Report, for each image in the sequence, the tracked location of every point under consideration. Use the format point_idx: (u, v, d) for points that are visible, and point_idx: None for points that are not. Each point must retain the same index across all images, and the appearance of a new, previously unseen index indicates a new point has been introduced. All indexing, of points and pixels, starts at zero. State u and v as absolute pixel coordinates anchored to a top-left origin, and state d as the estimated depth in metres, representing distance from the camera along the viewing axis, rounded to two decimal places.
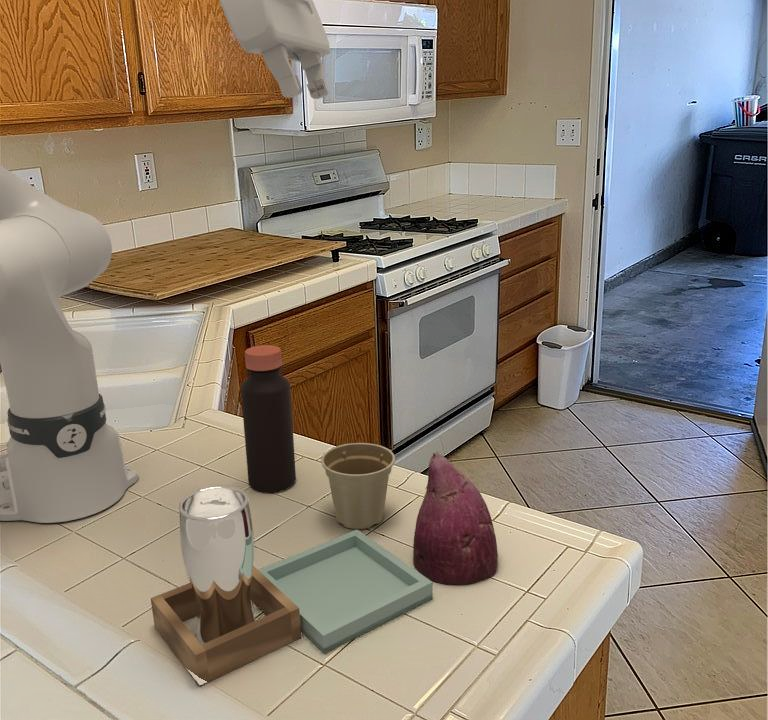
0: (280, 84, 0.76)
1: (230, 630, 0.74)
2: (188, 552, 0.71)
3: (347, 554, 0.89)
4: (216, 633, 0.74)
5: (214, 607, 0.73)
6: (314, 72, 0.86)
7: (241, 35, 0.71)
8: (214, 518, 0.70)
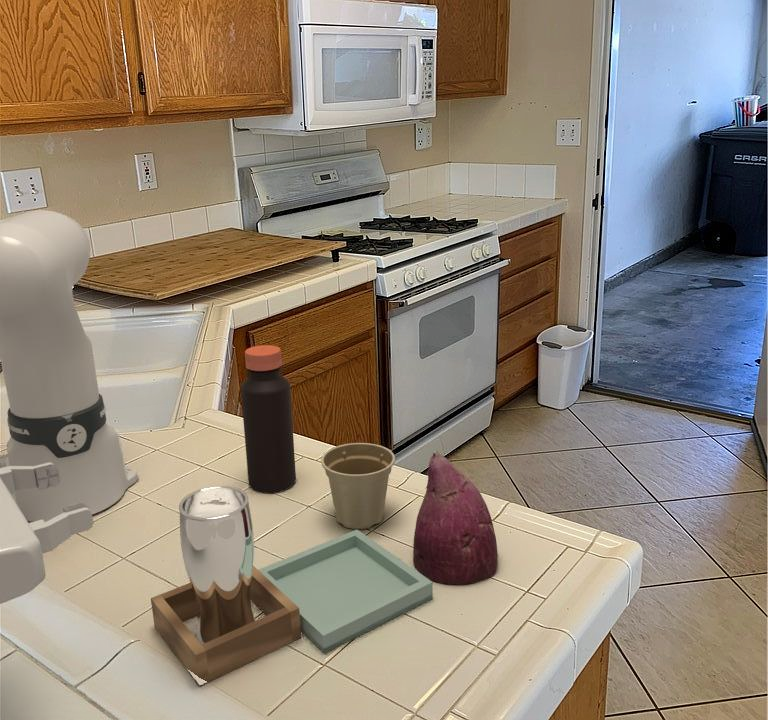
0: (75, 531, 0.59)
1: (230, 630, 0.74)
2: (188, 552, 0.71)
3: (347, 554, 0.89)
4: (216, 633, 0.74)
5: (214, 607, 0.73)
6: (21, 478, 0.66)
7: (27, 585, 0.53)
8: (214, 518, 0.70)
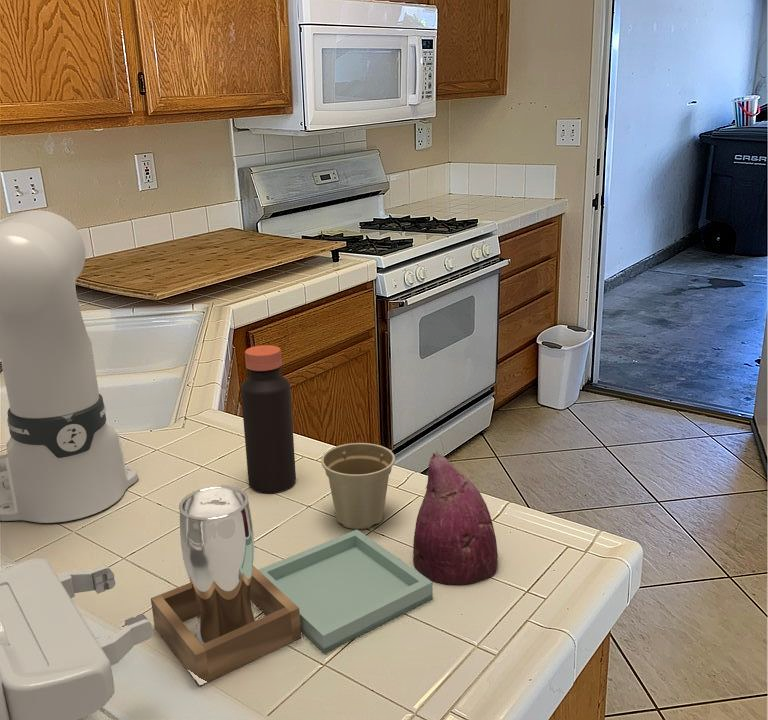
0: (137, 642, 0.65)
1: (230, 630, 0.74)
2: (188, 552, 0.71)
3: (347, 554, 0.89)
4: (216, 633, 0.74)
5: (214, 607, 0.73)
6: (80, 582, 0.72)
7: (100, 702, 0.59)
8: (214, 518, 0.70)
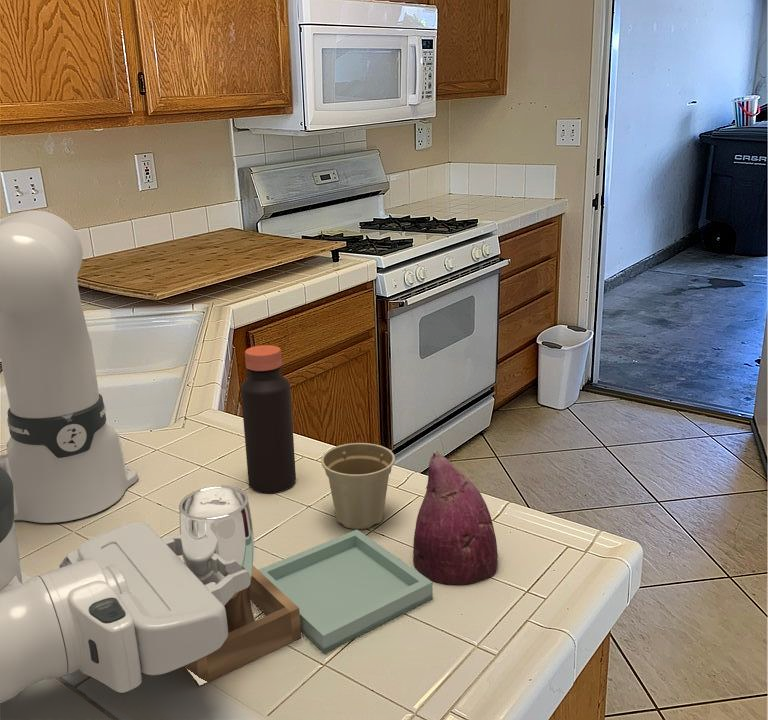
0: (237, 590, 0.71)
1: (230, 630, 0.74)
2: (188, 552, 0.71)
3: (347, 554, 0.89)
4: None
5: None
6: None
7: (217, 644, 0.64)
8: (214, 518, 0.70)
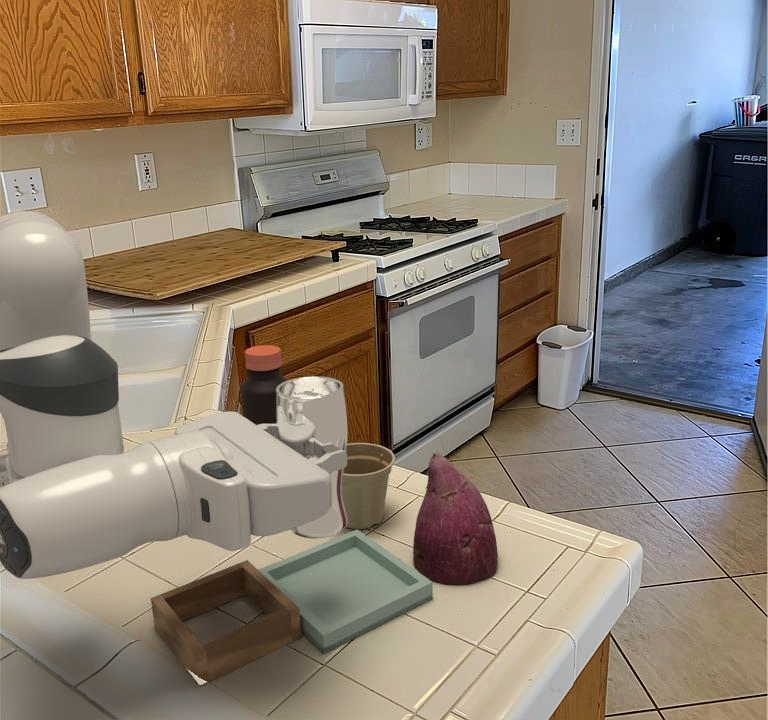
0: (335, 469, 0.72)
1: (324, 517, 0.75)
2: (286, 434, 0.72)
3: (347, 554, 0.89)
4: None
5: None
6: (274, 434, 0.78)
7: (323, 510, 0.65)
8: (313, 398, 0.71)
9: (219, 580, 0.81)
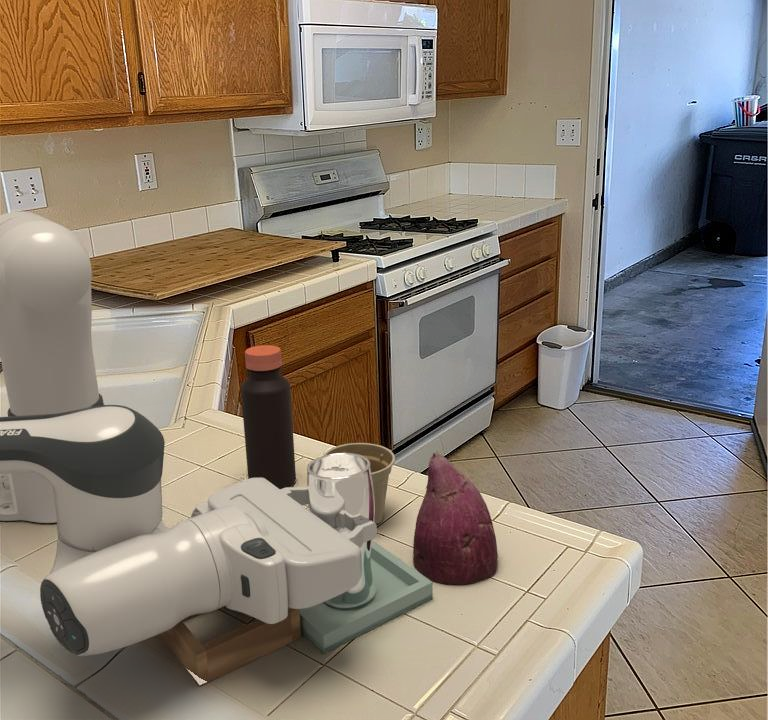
0: (365, 540, 0.76)
1: (355, 587, 0.79)
2: (318, 512, 0.77)
3: None
4: None
5: None
6: (297, 497, 0.83)
7: (354, 582, 0.70)
8: (343, 477, 0.75)
9: None
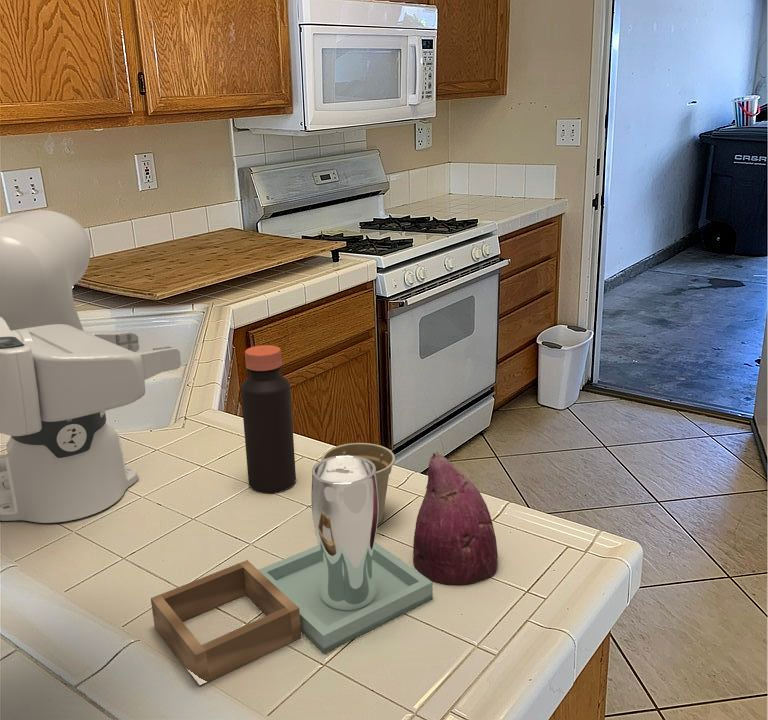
0: (165, 368, 0.63)
1: (356, 590, 0.79)
2: (322, 515, 0.76)
3: None
4: (343, 593, 0.79)
5: (343, 567, 0.78)
6: None
7: (131, 394, 0.57)
8: (349, 483, 0.74)
9: (219, 580, 0.81)
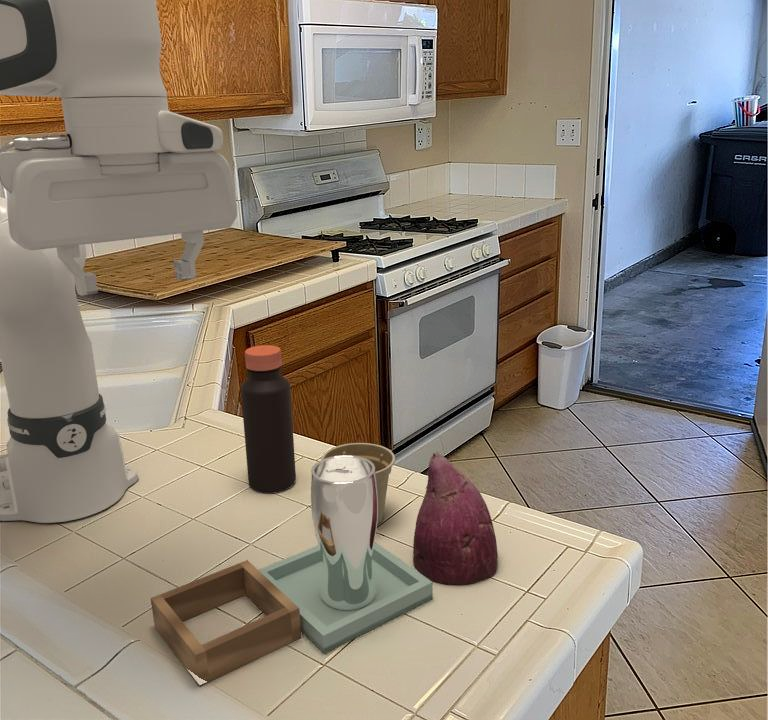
0: None
1: (356, 590, 0.79)
2: (321, 515, 0.76)
3: None
4: (343, 592, 0.79)
5: (342, 567, 0.78)
6: None
7: None
8: (348, 482, 0.74)
9: (219, 580, 0.81)
